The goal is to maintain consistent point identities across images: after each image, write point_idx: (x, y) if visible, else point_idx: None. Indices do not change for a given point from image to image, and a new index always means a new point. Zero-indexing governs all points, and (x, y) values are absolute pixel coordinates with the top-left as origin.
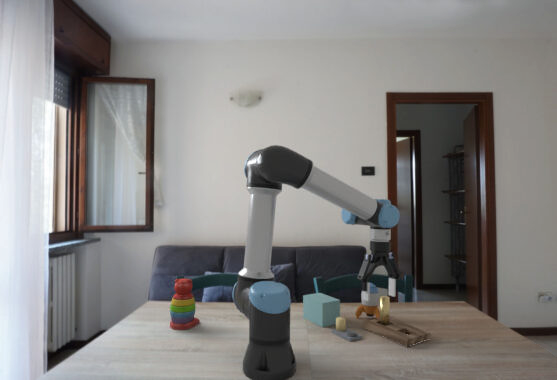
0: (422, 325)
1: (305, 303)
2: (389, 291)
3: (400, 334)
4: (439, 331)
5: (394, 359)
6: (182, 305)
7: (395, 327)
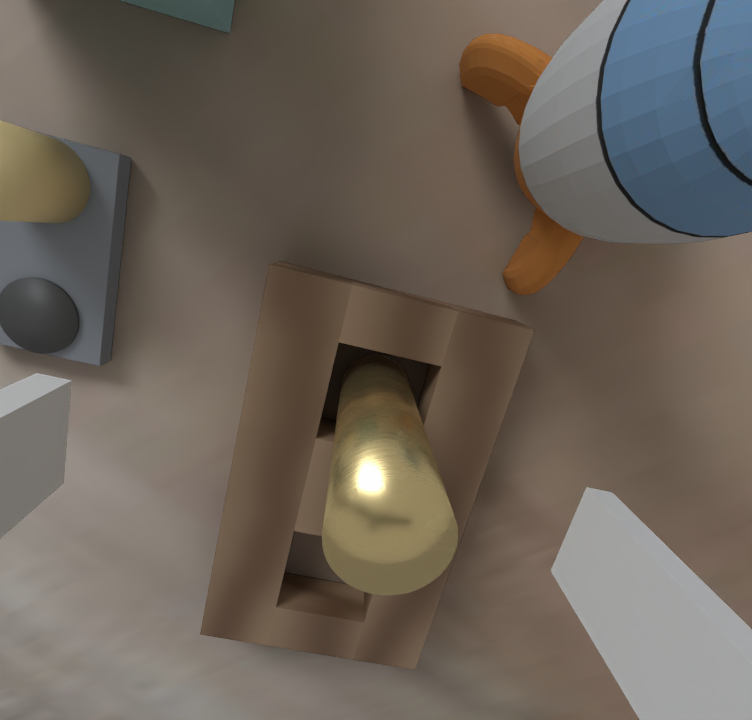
0: None
1: None
2: (613, 537)
3: (246, 577)
4: None
5: (26, 618)
6: None
7: None
